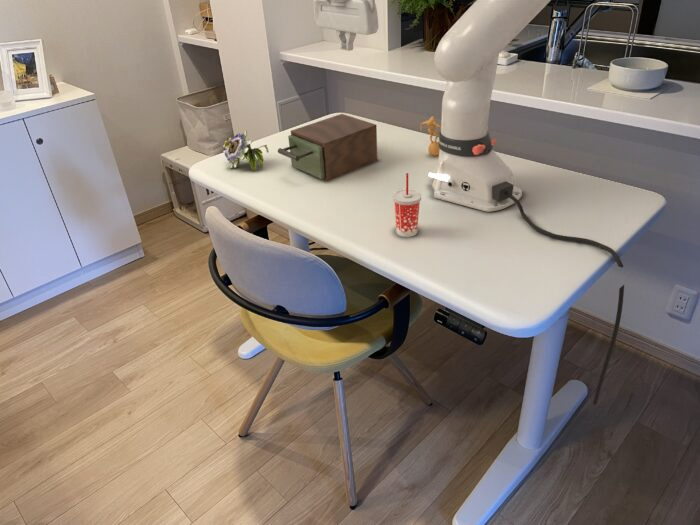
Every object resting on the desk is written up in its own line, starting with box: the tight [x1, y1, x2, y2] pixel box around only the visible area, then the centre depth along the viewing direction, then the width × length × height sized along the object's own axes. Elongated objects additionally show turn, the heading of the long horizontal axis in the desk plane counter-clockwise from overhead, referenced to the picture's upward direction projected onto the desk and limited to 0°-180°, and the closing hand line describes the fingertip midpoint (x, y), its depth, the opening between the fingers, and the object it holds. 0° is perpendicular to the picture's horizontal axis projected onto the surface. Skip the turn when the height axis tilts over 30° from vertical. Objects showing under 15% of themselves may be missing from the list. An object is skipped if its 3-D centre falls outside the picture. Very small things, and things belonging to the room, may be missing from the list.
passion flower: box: [222, 129, 269, 172], centre depth 156 cm, size 11×11×12 cm
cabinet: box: [290, 113, 378, 182], centre depth 153 cm, size 19×15×11 cm
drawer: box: [277, 134, 325, 180], centre depth 150 cm, size 23×13×9 cm, turn 131°
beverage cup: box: [392, 172, 422, 238], centre depth 118 cm, size 6×6×14 cm
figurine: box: [419, 115, 441, 157], centre depth 153 cm, size 8×6×12 cm
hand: (346, 49), depth 138 cm, fingers closed
